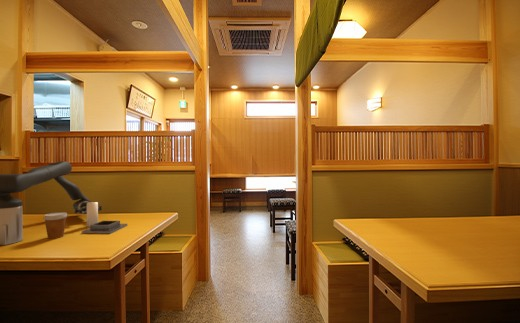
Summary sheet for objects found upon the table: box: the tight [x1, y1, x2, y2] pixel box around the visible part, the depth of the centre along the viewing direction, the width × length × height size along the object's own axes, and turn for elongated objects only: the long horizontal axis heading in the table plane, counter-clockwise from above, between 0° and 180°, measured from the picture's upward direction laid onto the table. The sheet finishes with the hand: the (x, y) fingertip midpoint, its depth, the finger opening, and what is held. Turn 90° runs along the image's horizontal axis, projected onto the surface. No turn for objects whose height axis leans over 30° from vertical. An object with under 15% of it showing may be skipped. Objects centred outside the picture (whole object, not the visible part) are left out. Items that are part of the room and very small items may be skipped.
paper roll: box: [86, 201, 99, 228], centre depth 145 cm, size 6×6×14 cm
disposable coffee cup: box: [43, 211, 68, 240], centre depth 124 cm, size 10×10×12 cm
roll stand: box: [81, 220, 128, 235], centre depth 138 cm, size 16×16×4 cm
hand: (90, 210), depth 151 cm, fingers open, 8 cm apart
